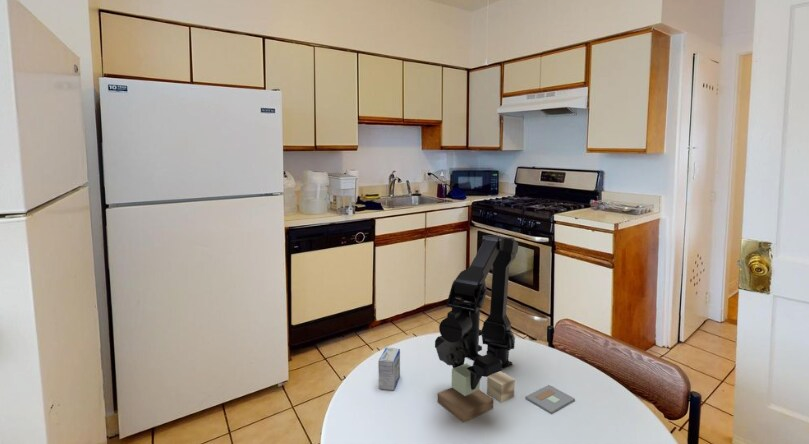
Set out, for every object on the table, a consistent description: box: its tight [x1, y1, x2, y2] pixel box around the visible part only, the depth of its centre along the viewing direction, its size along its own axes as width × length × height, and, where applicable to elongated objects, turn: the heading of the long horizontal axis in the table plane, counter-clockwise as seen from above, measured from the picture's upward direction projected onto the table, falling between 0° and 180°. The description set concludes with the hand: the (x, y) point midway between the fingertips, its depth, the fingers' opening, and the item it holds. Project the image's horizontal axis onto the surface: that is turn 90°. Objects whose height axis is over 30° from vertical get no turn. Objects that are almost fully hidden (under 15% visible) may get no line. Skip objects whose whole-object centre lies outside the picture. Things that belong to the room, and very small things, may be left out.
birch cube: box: [486, 370, 516, 403], centre depth 112 cm, size 5×5×5 cm
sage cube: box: [451, 363, 481, 396], centre depth 107 cm, size 5×5×5 cm
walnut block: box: [436, 387, 495, 423], centre depth 108 cm, size 10×10×3 cm
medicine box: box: [377, 347, 401, 391], centre depth 118 cm, size 8×4×9 cm, turn 169°
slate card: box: [524, 384, 576, 415], centre depth 110 cm, size 10×8×1 cm
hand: (465, 384), depth 107 cm, fingers closed on sage cube, 5 cm apart
